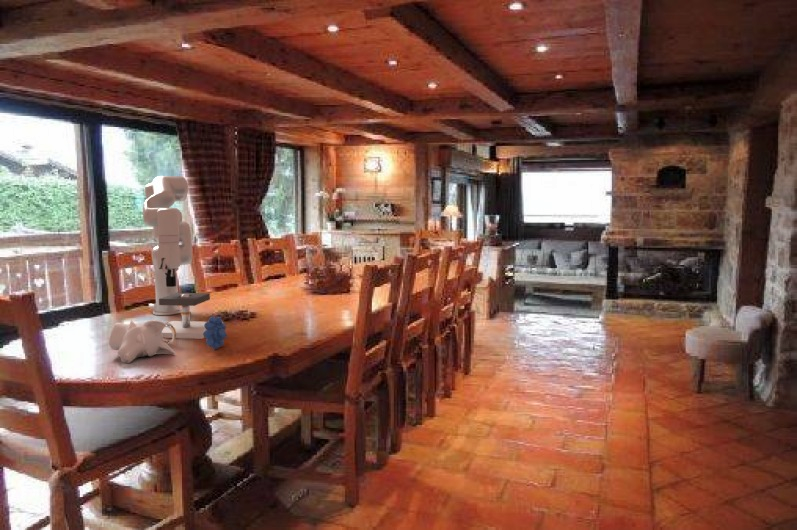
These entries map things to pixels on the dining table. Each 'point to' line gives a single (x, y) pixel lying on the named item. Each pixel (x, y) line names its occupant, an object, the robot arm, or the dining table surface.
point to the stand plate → (185, 330)
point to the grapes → (215, 332)
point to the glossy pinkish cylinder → (185, 314)
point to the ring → (172, 333)
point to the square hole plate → (184, 299)
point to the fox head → (138, 339)
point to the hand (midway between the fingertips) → (171, 286)
